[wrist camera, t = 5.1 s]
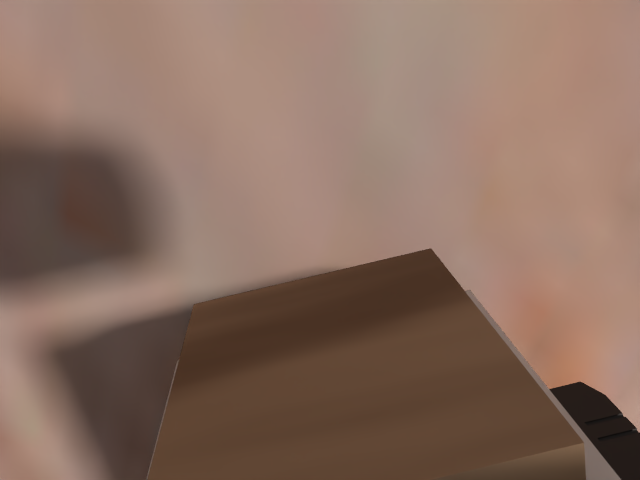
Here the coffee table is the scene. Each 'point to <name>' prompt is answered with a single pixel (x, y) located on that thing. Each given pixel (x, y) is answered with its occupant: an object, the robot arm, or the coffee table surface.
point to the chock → (358, 386)
